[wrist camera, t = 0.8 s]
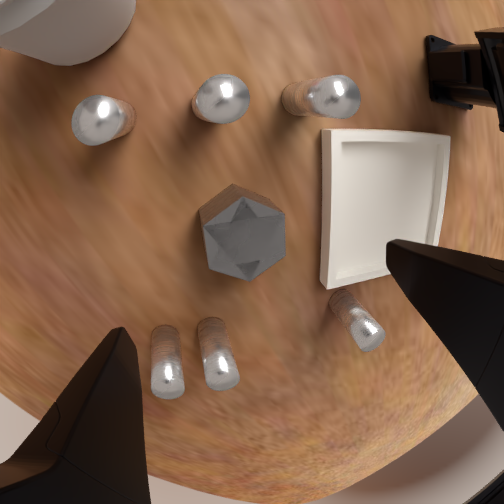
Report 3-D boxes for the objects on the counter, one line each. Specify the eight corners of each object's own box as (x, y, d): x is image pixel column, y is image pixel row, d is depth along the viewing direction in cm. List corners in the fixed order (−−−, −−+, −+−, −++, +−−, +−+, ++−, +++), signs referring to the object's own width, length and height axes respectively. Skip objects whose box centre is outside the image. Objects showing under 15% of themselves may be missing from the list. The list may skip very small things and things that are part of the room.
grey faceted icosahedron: (267, 179, 21) (283, 191, 18) (271, 252, 24) (285, 274, 21) (196, 188, 20) (199, 202, 17) (206, 263, 23) (212, 288, 20)
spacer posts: (360, 86, 19) (413, 85, 14) (349, 307, 28) (382, 346, 23) (99, 105, 16) (69, 102, 11) (155, 347, 25) (156, 400, 20)
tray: (439, 133, 22) (450, 136, 21) (425, 255, 28) (434, 262, 27) (321, 128, 20) (331, 130, 19) (319, 280, 26) (327, 289, 24)
